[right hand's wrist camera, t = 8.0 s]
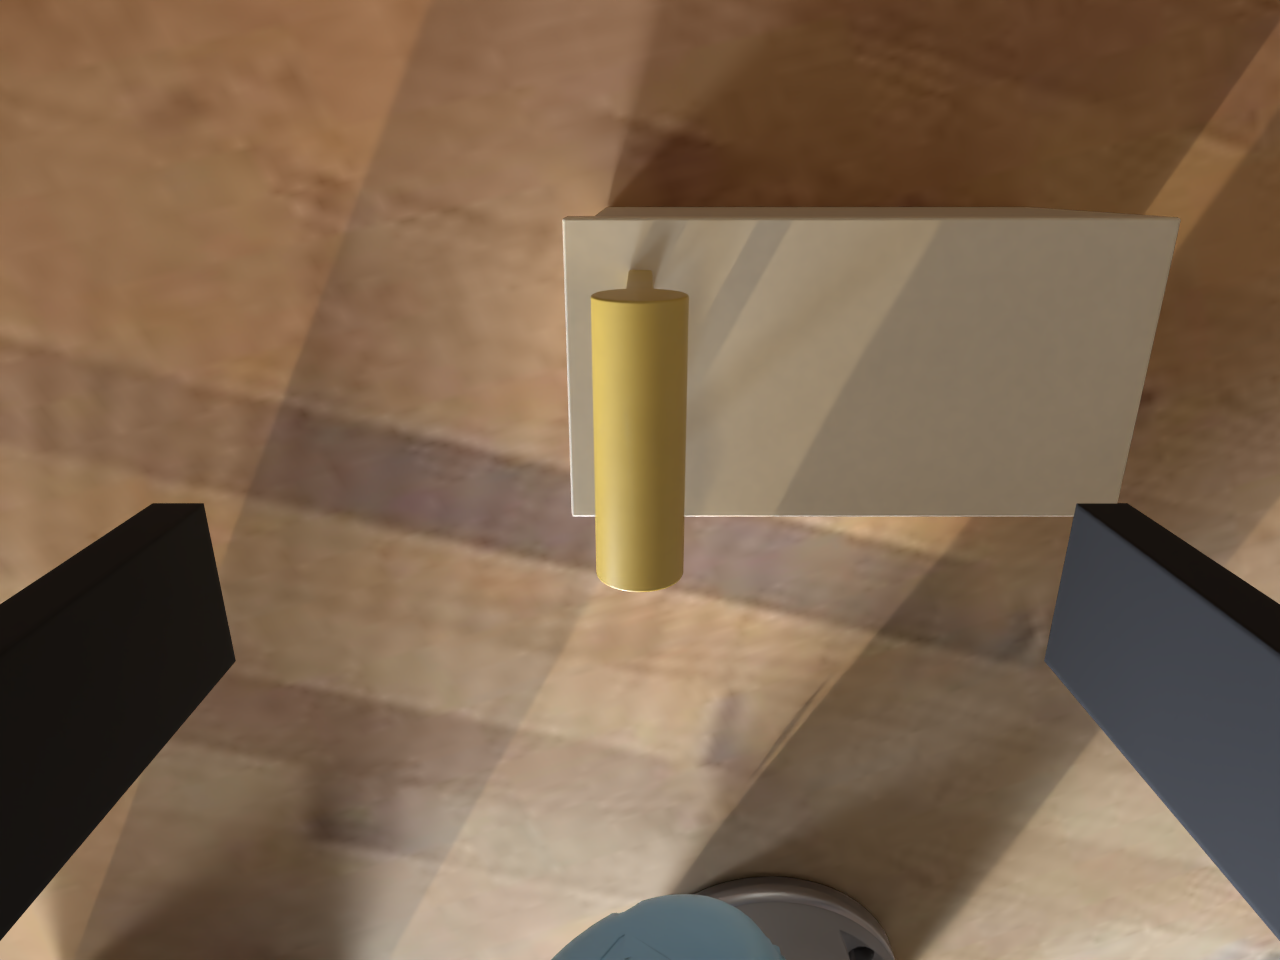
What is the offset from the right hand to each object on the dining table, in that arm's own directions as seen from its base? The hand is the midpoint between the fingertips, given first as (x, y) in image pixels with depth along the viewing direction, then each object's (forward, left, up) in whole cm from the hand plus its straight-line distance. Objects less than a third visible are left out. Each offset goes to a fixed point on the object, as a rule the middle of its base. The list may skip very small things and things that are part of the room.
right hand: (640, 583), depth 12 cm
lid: (+4, -6, -14) cm, 16 cm away
